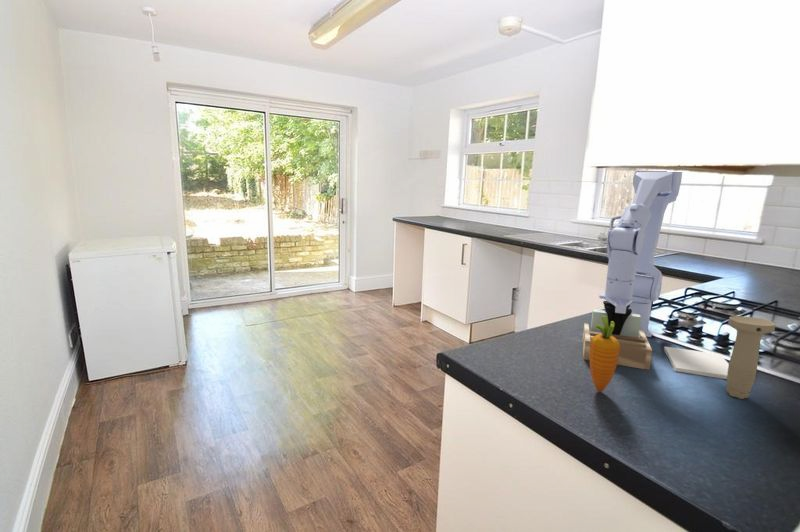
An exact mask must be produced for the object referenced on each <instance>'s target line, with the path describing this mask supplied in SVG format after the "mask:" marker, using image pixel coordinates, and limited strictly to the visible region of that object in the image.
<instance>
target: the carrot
mask: <svg viewBox="0 0 800 532" xmlns="http://www.w3.org/2000/svg"><path fill="white" fill-rule="evenodd" d="M602 320H603V324H604V327H605V328H604V327H602V326H601V325H599V324H596V325H595V327H597V328H598V329H599V330H600V331H601V332H602V334H598V335H596V336H594V337H592V338H591V341H590V357H589V360H588V361H589V370H590V371H589V372H590V376H591V379H592V382H593V384H594V387H595V390H596V391H597V392H598V393H601V392H604V390H605V389H606V388H607V387H608V385H609V384H610V383H611V380H612V379H613V376H614V374H615V373H616V372H615V371H616V368H617V366H618V365H617V361H618V356H619V350H620V343H619V342H618V340H617V339H616V338H615V337H613V336H611V334H612V331H613V329H614V324H615V323H614V322H613V321H611V324H610V326H609V325H608V321H607V318H606V316H602Z"/></svg>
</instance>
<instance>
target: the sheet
mask: <svg viewBox="0 0 800 532" xmlns="http://www.w3.org/2000/svg"><path fill="white" fill-rule="evenodd" d="M591 314H592V315H591V324H590V331H592V332H599V333H602V332H601V331H600V330H599V329H598V328H597V327H595V325H596V324H599V325H601V326H602V327H604V324H603V320H602V316H606V318H607V321H608V316H607V313H606V310H605V309H604V310H603V309H596V308H593V309H592V313H591ZM640 320H641V316H640V315H639V314H630V315H629V316H628V318H627V319H626V321H625V323H624V325H623V328H622V331H621V333H620V335H621V336H629V337H636V338H638V335H639V327H640ZM604 328H605V327H604Z"/></svg>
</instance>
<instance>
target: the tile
mask: <svg viewBox="0 0 800 532" xmlns="http://www.w3.org/2000/svg"><path fill="white" fill-rule="evenodd" d="M663 351H664V353H665V354H666V356H667V358H668V359H669V362H670V364H671V366H672V367H673V369H674V371H675V372H679V373H686V374H692V375H699V376H703V377H704V376H705V377H710V378H711V377H713V378H718V379H723V380H724V379H725V380H727V374H728V366H729V362H728V361H727V360H726V359H725V358H724V357H723V355H721V353H715V352H714V353H713V352H709V351H708V352H707V351H701V350H700V351H699V350H692V349H685V348H679V347H670V346H666V345H665V346H664V347H663Z"/></svg>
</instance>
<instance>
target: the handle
mask: <svg viewBox="0 0 800 532" xmlns="http://www.w3.org/2000/svg"><path fill="white" fill-rule="evenodd" d="M728 325H730V327H731V328H733V329H734V330H736V338H735V341H734V344H733V349H732V352H731V356H730V359H729V362H728V364H729V366H728V374H727V379H726V383H727V384H726V386H725V387H726V388H725V389H726V393H727V394H728V395H729V396H730V397H733V398H737V399H740V400H744V399H748V398H749V397H750V395H751V390H752V388H753V385H754V384H755V379H756V376H757V371H758V370H757V369H758V365H759V364H758V362H759V354H760V348H761V347H760V346H761V340H762V338H763V335H765V334H766V335H767V334H770V333H774V332H775V329H776V325H777V324H776V323H775V322H773V321H771V320H767V319H765V318H758V317H752V316H744V315H743V316H741V315H740V316H739V315H738V316H737V315H734V316H733V315H732V316H729V317H728Z"/></svg>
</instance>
